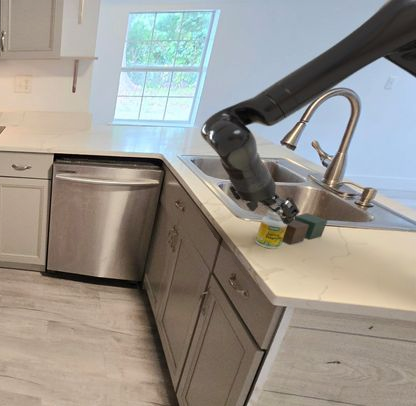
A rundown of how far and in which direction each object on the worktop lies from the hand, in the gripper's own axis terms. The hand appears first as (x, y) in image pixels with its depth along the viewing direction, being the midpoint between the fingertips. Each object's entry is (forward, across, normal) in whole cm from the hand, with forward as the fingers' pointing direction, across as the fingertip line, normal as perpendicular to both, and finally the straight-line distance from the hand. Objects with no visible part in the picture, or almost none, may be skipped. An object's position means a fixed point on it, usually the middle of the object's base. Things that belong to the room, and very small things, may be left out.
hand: (270, 214), depth 94 cm
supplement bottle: (+8, 0, +5) cm, 10 cm away
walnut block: (+14, 0, -1) cm, 14 cm away
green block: (+19, 0, -6) cm, 20 cm away
